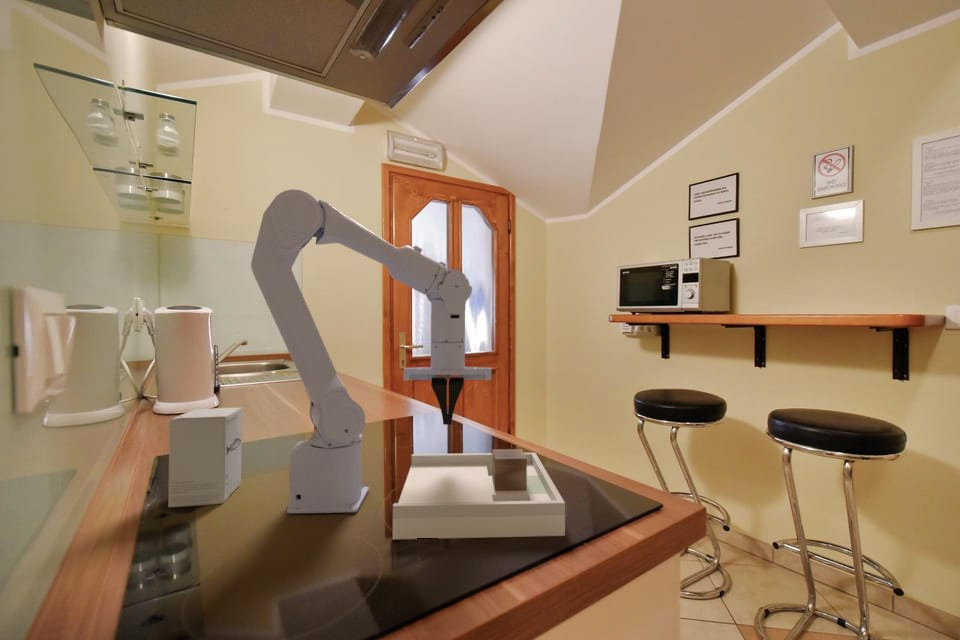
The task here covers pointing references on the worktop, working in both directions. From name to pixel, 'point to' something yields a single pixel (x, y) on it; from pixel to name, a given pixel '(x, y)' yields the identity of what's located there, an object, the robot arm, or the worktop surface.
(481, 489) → the box
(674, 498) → the worktop surface
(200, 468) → the supplement box
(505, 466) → the walnut block
